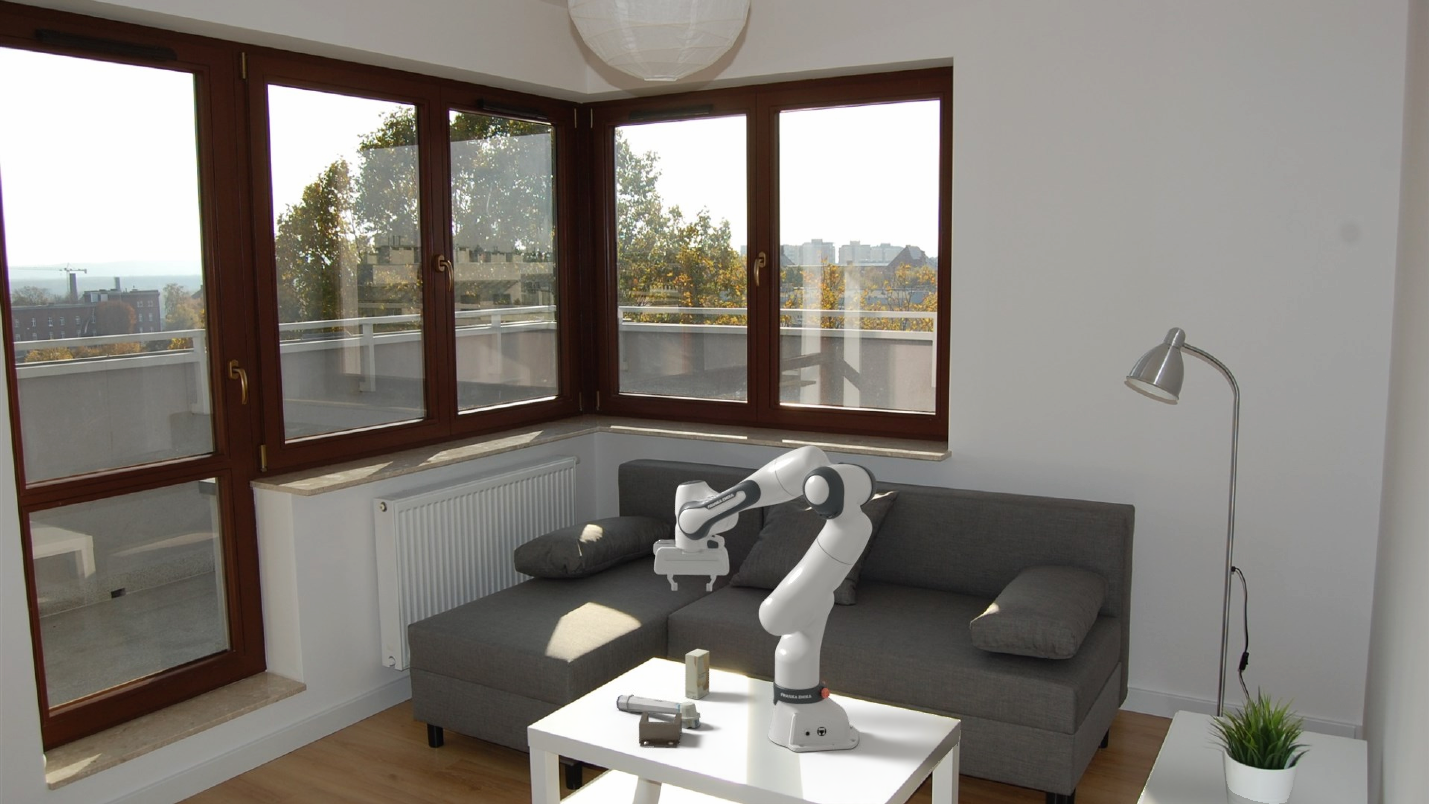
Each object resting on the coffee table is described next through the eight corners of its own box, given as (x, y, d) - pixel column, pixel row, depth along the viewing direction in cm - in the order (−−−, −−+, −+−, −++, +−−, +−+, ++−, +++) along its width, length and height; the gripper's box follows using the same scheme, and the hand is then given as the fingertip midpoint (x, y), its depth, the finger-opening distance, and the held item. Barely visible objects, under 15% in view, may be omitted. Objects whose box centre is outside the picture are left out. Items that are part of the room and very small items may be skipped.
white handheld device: (625, 691, 291) (702, 697, 277) (628, 715, 291) (705, 722, 277) (613, 697, 286) (691, 703, 273) (616, 722, 286) (694, 729, 273)
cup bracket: (682, 732, 272) (681, 713, 272) (678, 747, 263) (678, 727, 263) (642, 731, 273) (642, 712, 273) (638, 746, 264) (637, 727, 263)
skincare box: (697, 700, 294) (697, 657, 293) (684, 697, 296) (684, 654, 295) (710, 693, 300) (710, 650, 298) (697, 690, 302) (697, 647, 301)
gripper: (651, 542, 286) (652, 592, 287) (728, 543, 285) (728, 594, 286) (654, 536, 292) (654, 586, 294) (729, 537, 291) (729, 587, 293)
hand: (691, 590), depth 290 cm, fingers open, 8 cm apart
